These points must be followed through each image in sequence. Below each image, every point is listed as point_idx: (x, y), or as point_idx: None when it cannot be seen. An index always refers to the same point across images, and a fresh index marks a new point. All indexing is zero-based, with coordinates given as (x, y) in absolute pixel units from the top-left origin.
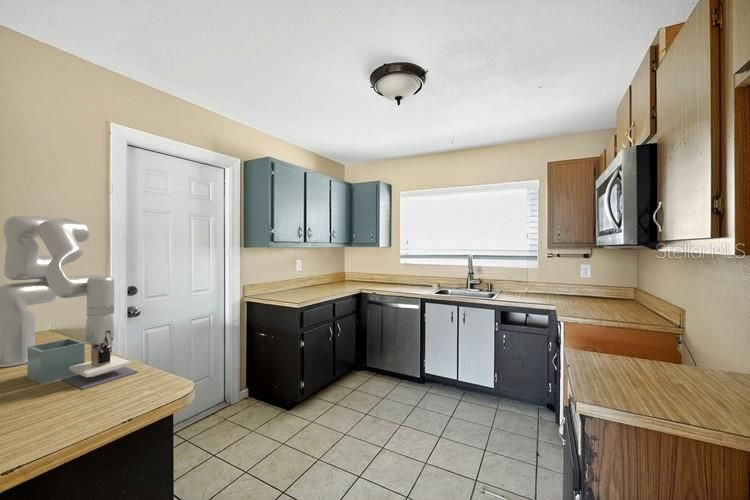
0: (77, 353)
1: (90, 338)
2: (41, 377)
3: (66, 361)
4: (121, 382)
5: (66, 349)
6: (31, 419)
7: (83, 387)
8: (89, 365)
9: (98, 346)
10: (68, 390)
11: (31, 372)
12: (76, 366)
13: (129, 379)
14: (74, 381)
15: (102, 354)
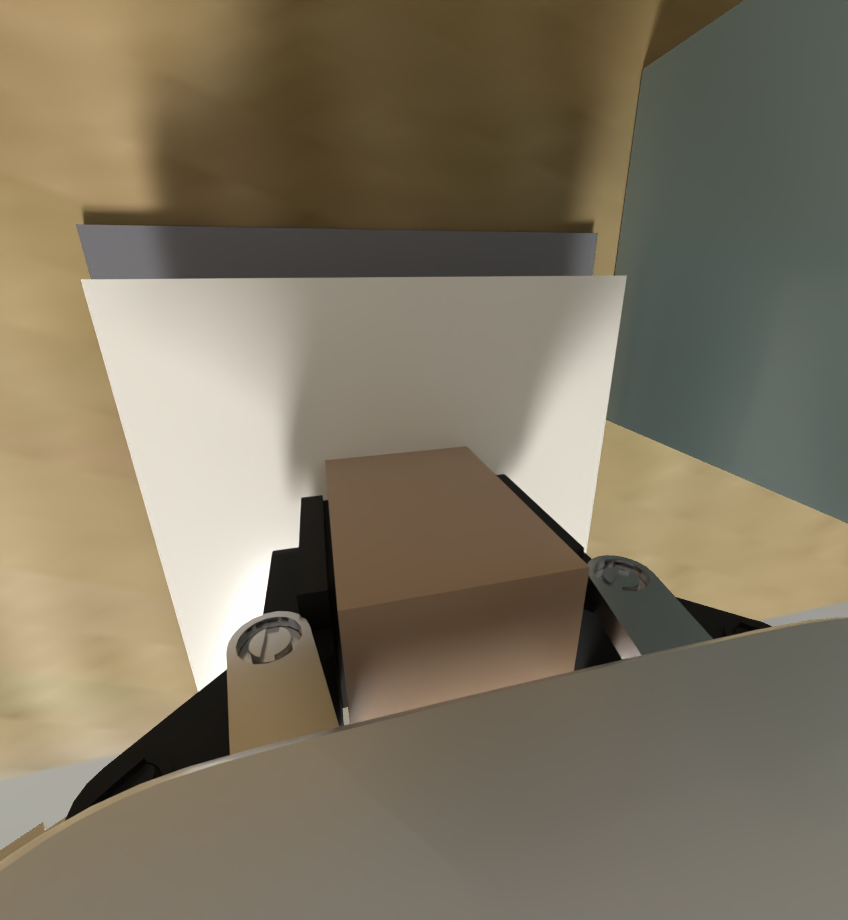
0: (791, 414)
1: (756, 858)
2: (699, 36)
3: (749, 281)
4: (11, 521)
5: None
6: None
7: (113, 242)
8: (458, 426)
9: (595, 662)
10: (199, 129)
11: None
12: (558, 328)
13: (50, 583)
14: (404, 266)
15: (279, 608)
